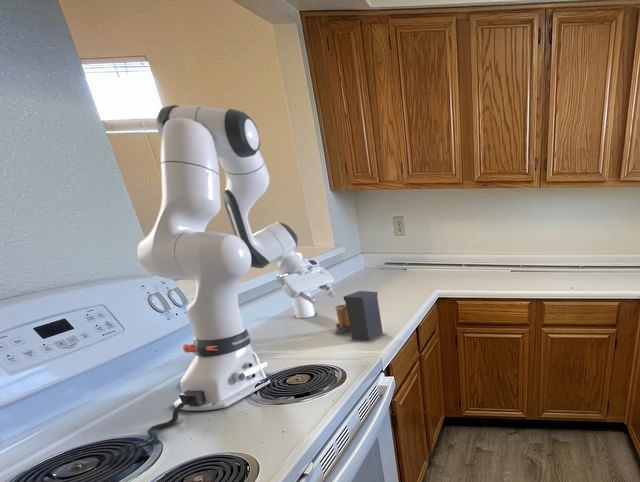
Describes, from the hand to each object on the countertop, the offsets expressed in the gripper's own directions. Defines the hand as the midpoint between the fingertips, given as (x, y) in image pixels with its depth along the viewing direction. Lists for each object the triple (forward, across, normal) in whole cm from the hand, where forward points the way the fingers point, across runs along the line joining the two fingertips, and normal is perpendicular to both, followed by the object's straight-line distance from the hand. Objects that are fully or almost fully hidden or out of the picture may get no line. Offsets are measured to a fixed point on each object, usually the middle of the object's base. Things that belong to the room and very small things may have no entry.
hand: (324, 299), depth 149 cm
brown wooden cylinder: (+13, 0, +2) cm, 14 cm away
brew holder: (+14, 0, +3) cm, 14 cm away
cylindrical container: (-9, +14, +26) cm, 31 cm away
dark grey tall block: (+22, -3, -5) cm, 23 cm away
